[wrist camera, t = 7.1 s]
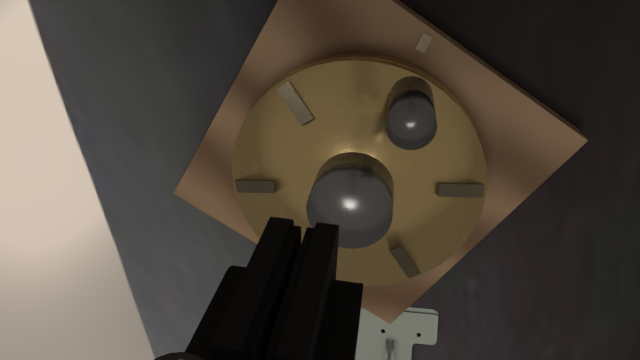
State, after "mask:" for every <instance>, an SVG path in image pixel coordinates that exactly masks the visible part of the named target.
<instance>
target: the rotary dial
mask: <svg viewBox="0 0 640 360" xmlns="http://www.w3.org/2000/svg"><path fill="white" fill-rule="evenodd" d="M232 174H233V184H234V189H235V194H236V197H237V200H238V203H239V206H240V209H241V211H242V213H243V215H244V217H245V219H246V221H247V222H248V224H249V225H250V227H251V228H252V230H253V231H254V233H255V234H256V235H257V236H258V237H259V239H260V237H261V235H262V233H263V231H264V229H265V227H266V224H267V222H268V220H269V218H270V217H279V218H287V219H293V220H294V225H295V226H301V243H302V240H303V237H304V234H305V231H306V229H307V227H311V228H315V225H316V223H317V222H319V223H327V224H335V225H339V239H338V254H337V270H336V280H341V281H348V282H355V283H363V286H383V285H389V284H395V283H399V282H403V281H406V280H410V279H413V278H415V277H418V276H420V275H423V274H425V273H427V272H429V271H430V270H432V269H434V268H436V267H438V266H439V265H440V264H442V263H443V262H445V261H446V260H447V259H449V258H450V257H451V256H452V255H453V254H454V253H455V252H456V251H457V250H458V249H459V248H460V247H461V246H462V245H463V244H464V242H465V241H466V240H467V239H468V238H469V236H470V235H471V233H472V231H473V229H474V228H475V226H476V224H477V222H478V220H479V217H480V215H481V213H482V210H483V206H484V202H485V198H486V190H487V169H486V162H485V157H484V153H483V149H482V146H481V143H480V140H479V137H478V134H477V131H476V129H475V126H474V124H473V121H472V119H471V117H470V116H469V114H468V112H467V111H466V109H465V107H464V106H463V104H462V103H461V102H460V101H459V99H458V98H457V97H456V96H455V94H454V93H453V92H452V91H451V90H450V89H449V88H448V87H447V86H446V85H444V84H443V83H442V82H441V81H440V80H439V79H437V78H436V77H434V76H433V75H431V74H430V73H429V72H427V71H425V70H423V69H422V68H420V67H418V66H416V65H414V64H412V63H410V62H407V61H404V60H401V59H398V58H395V57H392V56H387V55H382V54H378V53H367V52H348V53H338V54H333V55H328V56H323V57H320V58H317V59H314V60H311V61H308V62H306V63H304V64H302V65H300V66H298V67H296V68H294V69H293V70H291V71H290V72H288V73H287V74H285V75H284V76H282V77H281V78H280V79H279V80H278V81H277V82H275V83H274V84H273V85H272V86H271V87H270V88H269V89H268V90H267V91H266V93H265V94H264V95H263V96H262V97H261V98H260V100H259V101H258V102H257V103H256V105H255V106H254V107H253V108H252V109H251V111H250V112H249V114H248V116H247V117H246V119H245V121H244V122H243V124H242V126H241V129H240V131H239V134H238V136H237V139H236V143H235V147H234V152H233V162H232Z"/></svg>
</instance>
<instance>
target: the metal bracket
mask: <svg viewBox="0 0 640 360" xmlns="http://www.w3.org/2000/svg"><path fill="white" fill-rule="evenodd" d="M382 329H384V330H385V332H381V330H382ZM437 329H438V312H436V311H435V310H432V309H421V308H410V307H408V308H407V309H406V310H405V311H404V312H403V313H402V314H401V315H400V316H399V317H398V318H397V319H395V320H394V321H393V322H392V323H391V324H389V323H387V322H386V321H384V320H382V319H381V318H379V317H377V316H376V315H374V314H372V313H371V312H369V311H367V310H366V309H364V308H362V307H361V313H360V322H359V330H358V339H357V347H356V355H355V360H411V357H412V346H413V344H415V343H419V344H428V345H434V344H435V343H436V342H437ZM417 333H420V334H421V335H420V336H417Z"/></svg>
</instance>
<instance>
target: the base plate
mask: <svg viewBox="0 0 640 360" xmlns="http://www.w3.org/2000/svg"><path fill="white" fill-rule="evenodd" d="M348 52H367V53H378V54H382V55H387V56H392V57H395V58H398V59H401V60H404V61H407V62H410V63H412V64H414V65H416V66H418V67H420V68H422V69H423V70H425V71H427V72H429V73H430V74H431V75H433V76H434V77H436V78H437V79H439V80H440V81H441V82H442V83H443V84H444V85H446V86H447V87H448V88H449V89H450V90H451V91H452V92H453V93H454V94H455V96H456V97H457V98H458V99H459V101H460V102H461V103H462V104H463V106H464V107H465V109H466V111H467V112H468V114H469V116H470V117H471V119H472V121H473V124H474V126H475V129H476V131H477V134H478V137H479V140H480V143H481V146H482V149H483V153H484V157H485V162H486V169H487V190H486V198H485V202H484V206H483V210H482V213H481V215H480V217H479V220H478V222H477V224H476V226H475V228H474V229H473V231H472V233H471V235H470V236H469V238H468V239H467V240H466V241H465V242H464V244H463V245H462V246H461V247H460V248H459V249H458V250H457V251H456V252H455V253H454V254H453V255H452V256H451V257H450V258H449V259H447V260H446V261H445V262H443V263H442V264H440V265H439V266H438V267H436V268H434V269H432V270H430V271H429V272H427V273H425V274H423V275H420V276H418V277H415V278H413V279H410V280H406V281H403V282H399V283H395V284H389V285H383V286H363V294H362V303H361V307H362V308H364V309H366V310H367V311H369V312H371V313H372V314H374V315H376V316H377V317H379V318H381V319H382V320H384V321H386V322H387V323H389V324H391V323H392V322H393V321H394V320H395V319H397V318H398V317H399V316H400V315H401V314H402V313H403V312H404V311H405V310H406V309H407V308H408V307H409V306H411V305H412V304H413V303H414V302H415V301H416V300H417V299H418V298H419V297H420V296H421V295H422V294H423V293H425V292H426V291H427V290H428V289H429V288H430V287H431V286H432V285H433V284H434V283H435V282H436V281H437V280H439V279H440V278H441V277H442V276H443V275H444V274H445V273H446V272H447V271H448V270H449V269H450V268H451V267H453V266H454V265H455V264H456V263H457V262H458V261H459V260H460V259H461V258H462V257H463V256H464V255H465V254H467V253H468V252H469V251H470V250H471V249H472V248H473V247H474V246H475V245H476V244H477V243H478V242H479V241H481V240H482V239H483V238H484V237H485V236H486V235H487V234H488V233H489V232H490V231H491V230H492V229H493V228H495V227H496V226H497V225H498V224H499V223H500V222H501V221H502V220H503V219H504V218H505V217H506V216H507V215H509V214H510V213H511V212H512V211H513V210H514V209H515V208H516V207H517V206H518V205H519V204H520V203H521V202H523V201H524V200H525V199H526V198H527V197H528V196H529V195H530V194H531V193H532V192H533V191H534V190H535V189H537V188H538V187H539V186H540V185H541V184H542V183H543V182H544V181H545V180H546V179H547V178H548V177H549V176H551V175H552V174H553V173H554V172H555V171H556V170H557V169H558V168H559V167H560V166H561V165H562V164H563V163H565V162H566V161H567V160H568V159H569V158H570V157H571V156H572V155H573V154H574V153H575V152H576V151H577V150H579V149H580V148H581V147H582V146H583V145H584V144H585V143H586V142H587V141H588V140H587V139H586V138H585V136H584V135H583V134H582V133H581V132H580V130H579V129H578V128H577V127H575V126H574V125H572V124H571V123H570V122H568V121H567V120H565V119H564V118H563V117H561V116H560V115H558V114H557V113H556V112H554V111H553V110H552V109H550V108H549V107H547V106H546V105H545V104H543V103H542V102H540V101H539V100H538V99H536V98H535V97H533V96H532V95H531V94H529V93H528V92H526V91H525V90H524V89H522V88H521V87H519V86H518V85H517V84H515V83H514V82H512V81H511V80H510V79H508V78H507V77H505V76H504V75H503V74H501V73H500V72H499V71H497V70H496V69H494V68H493V67H492V66H490V65H489V64H487V63H486V62H485V61H483V60H482V59H480V58H479V57H478V56H476V55H475V54H473V53H472V52H471V51H469V50H468V49H466V48H465V47H464V46H462V45H461V44H459V43H458V42H457V41H455V40H454V39H452V38H451V37H450V36H448V35H447V34H445V33H444V32H443V31H441V30H440V29H439V28H437V27H436V26H434V25H433V24H432V23H430V22H429V21H427V20H426V19H425V18H423V17H422V16H420V15H419V14H418V13H416V12H415V11H413V10H412V9H411V8H409V7H408V6H406V5H405V4H404V3H402V2H401V1H399V0H278V1H277V3H276V5H275V7H274V9H273V10H272V12H271V14H270V16H269V18H268V20H267V22H266V23H265V25H264V27H263V29H262V31H261V33H260V35H259V36H258V38H257V40H256V42H255V44H254V46H253V48H252V49H251V51H250V53H249V55H248V57H247V59H246V60H245V62H244V64H243V66H242V68H241V70H240V72H239V73H238V75H237V77H236V79H235V81H234V83H233V85H232V86H231V88H230V90H229V92H228V94H227V96H226V97H225V99H224V101H223V103H222V105H221V107H220V109H219V110H218V112H217V114H216V116H215V118H214V120H213V122H212V123H211V125H210V127H209V129H208V131H207V133H206V135H205V136H204V138H203V140H202V142H201V144H200V146H199V147H198V149H197V151H196V153H195V155H194V157H193V159H192V160H191V162H190V164H189V166H188V168H187V170H186V172H185V173H184V175H183V177H182V179H181V181H180V183H179V184H178V186H177V188H176V190H175V192H174V194H175V195H177V196H178V197H180V198H182V199H183V200H185V201H187V202H188V203H190V204H192V205H193V206H195V207H197V208H198V209H200V210H202V211H203V212H205V213H207V214H208V215H210V216H211V217H213V218H215V219H216V220H218V221H220V222H221V223H223V224H225V225H226V226H228V227H230V228H231V229H233V230H235V231H236V232H238V233H240V234H241V235H243V236H245V237H246V238H248V239H250V240H251V241H253V242H255V243H256V244H258V242H259V240H260V239H259V237H258V236H257V235H256V234H255V233H254V231H253V230H252V228H251V227H250V225H249V224H248V222H247V221H246V219H245V217H244V215H243V213H242V211H241V209H240V206H239V203H238V200H237V197H236V194H235V189H234V184H233V174H232V162H233V152H234V147H235V143H236V139H237V136H238V134H239V131H240V129H241V126H242V124H243V122H244V121H245V119H246V117H247V116H248V114H249V112H250V111H251V109H252V108H253V107H254V106H255V105H256V103H257V102H258V101H259V100H260V98H261V97H262V96H263V95H264V94H265V93H266V91H267V90H268V89H269V88H270V87H271V86H272V85H273V84H274V83H275V82H277V81H278V80H279V79H280V78H281V77H282V76H284V75H285V74H287V73H288V72H290V71H291V70H293V69H294V68H296V67H298V66H300V65H302V64H304V63H306V62H308V61H311V60H314V59H317V58H320V57H323V56H328V55H333V54H338V53H348Z"/></svg>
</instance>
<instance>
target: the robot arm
mask: <svg viewBox="0 0 640 360" xmlns="http://www.w3.org/2000/svg"><path fill="white" fill-rule="evenodd" d="M338 239H339V225H335V224H327V223H319V222H317V223H316V225H315V228H311V227H307V229H306V231H305V234H304V237H303V240H302V243H301V226H295V225H294V220H293V219H287V218H279V217H270V218H269V220H268V222H267V224H266V227H265V229H264V231H263V233H262V235H261V237H260V240H259V242H258V244H257V246H256V248H255V250H254V252H253V255H252V257H251V259H250V261H249V263H248V265H247V267H240V266H230V267H229V268H228V270H227V271H226V273H225V275H224V277H223V279H222V281H221V283H220V285H219V287H218V289H217V291H216V293H215V295H214V297H213V299H212V300H211V302H210V304H209V306H208V308H207V310H206V312H205V314H204V316H203V318H202V320H201V322H200V324H199V326H198V328H197V330H196V331H195V333H194V335H193V337H192V339H191V341H190V343H189V345H188V347H187V349H186V351H185V352H177V353H169V354H166V355H163V356H160V357H158V358H156V359H154V360H355V355H356V347H357V339H358V330H359V322H360V313H361V303H362V294H363V283H355V282H348V281H341V280H336V270H337V254H338Z"/></svg>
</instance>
